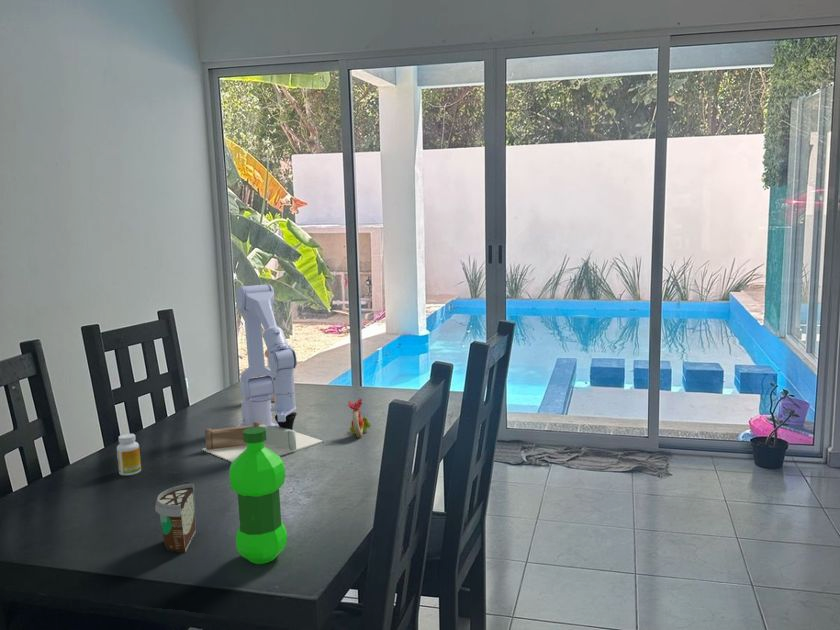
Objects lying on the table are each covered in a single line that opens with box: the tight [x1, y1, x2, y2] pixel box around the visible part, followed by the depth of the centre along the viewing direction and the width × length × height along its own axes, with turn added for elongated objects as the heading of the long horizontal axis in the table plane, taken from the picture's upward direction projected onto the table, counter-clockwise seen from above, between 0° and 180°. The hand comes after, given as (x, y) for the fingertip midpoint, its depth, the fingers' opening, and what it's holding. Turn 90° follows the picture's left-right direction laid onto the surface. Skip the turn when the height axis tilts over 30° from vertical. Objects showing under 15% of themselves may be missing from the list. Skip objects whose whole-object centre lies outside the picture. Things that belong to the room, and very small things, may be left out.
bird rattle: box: [347, 398, 371, 439], centre depth 211 cm, size 6×11×9 cm
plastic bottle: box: [228, 427, 288, 565], centre depth 137 cm, size 10×10×25 cm
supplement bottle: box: [116, 433, 142, 476], centre depth 186 cm, size 5×5×10 cm
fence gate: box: [258, 424, 296, 450], centre depth 202 cm, size 2×13×5 cm, turn 56°
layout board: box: [201, 431, 324, 463], centre depth 205 cm, size 21×26×1 cm
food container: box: [154, 483, 197, 553], centre depth 145 cm, size 12×6×10 cm, turn 5°
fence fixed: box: [204, 422, 261, 450], centre depth 204 cm, size 2×15×6 cm, turn 106°
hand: (287, 439), depth 204 cm, fingers closed
